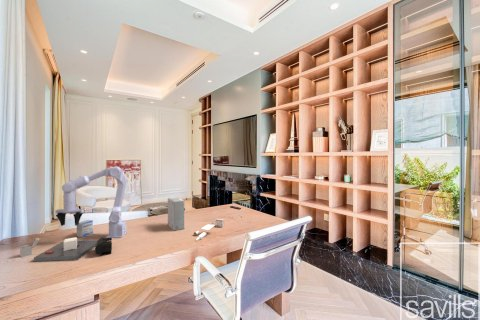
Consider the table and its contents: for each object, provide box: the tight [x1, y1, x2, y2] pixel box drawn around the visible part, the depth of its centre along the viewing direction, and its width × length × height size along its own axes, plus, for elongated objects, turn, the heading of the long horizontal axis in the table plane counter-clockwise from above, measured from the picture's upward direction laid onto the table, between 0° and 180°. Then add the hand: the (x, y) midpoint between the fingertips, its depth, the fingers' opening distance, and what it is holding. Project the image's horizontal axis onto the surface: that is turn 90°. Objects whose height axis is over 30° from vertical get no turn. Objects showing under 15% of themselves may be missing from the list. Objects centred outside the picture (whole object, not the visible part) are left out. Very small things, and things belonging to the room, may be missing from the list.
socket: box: [33, 239, 98, 262], centre depth 115 cm, size 20×20×2 cm
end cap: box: [94, 236, 113, 257], centre depth 115 cm, size 10×7×7 cm
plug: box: [63, 236, 78, 251], centre depth 115 cm, size 5×5×6 cm
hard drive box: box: [167, 197, 185, 231], centre depth 156 cm, size 16×8×20 cm, turn 34°
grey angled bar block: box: [19, 237, 40, 258], centre depth 112 cm, size 7×2×8 cm, turn 130°
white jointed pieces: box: [193, 218, 225, 242], centre depth 145 cm, size 10×6×30 cm
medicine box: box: [76, 219, 94, 238], centre depth 139 cm, size 8×4×9 cm, turn 168°
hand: (69, 225), depth 128 cm, fingers open, 7 cm apart
